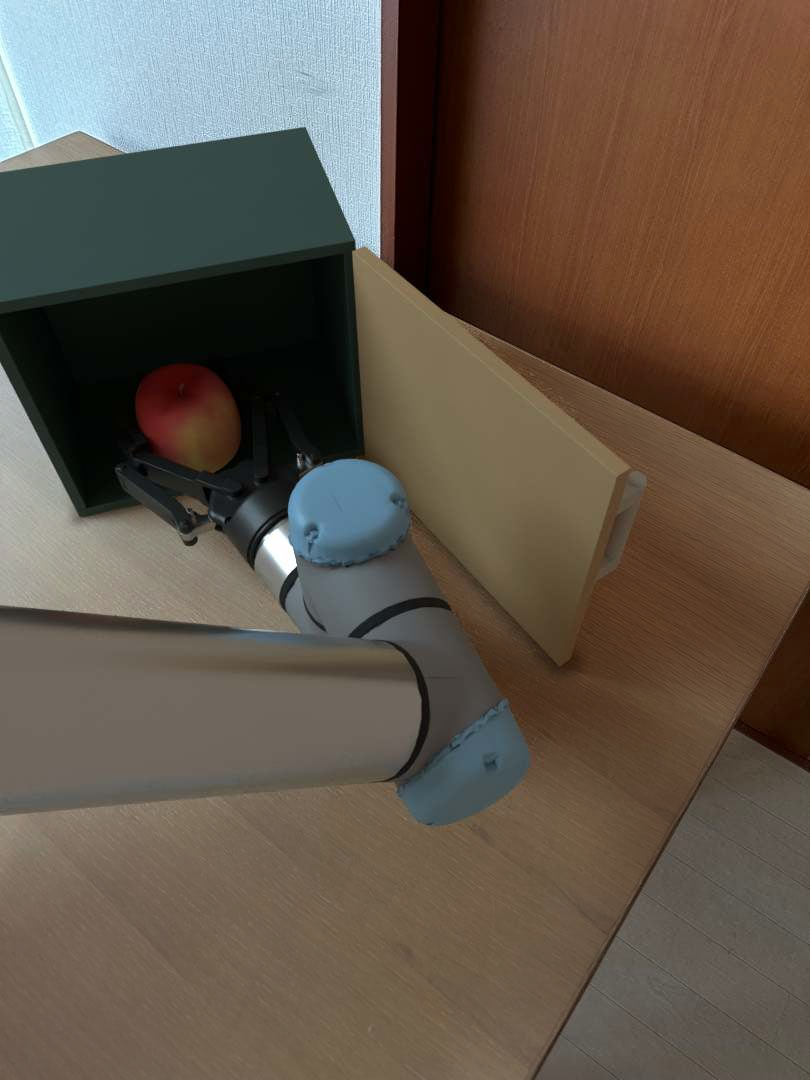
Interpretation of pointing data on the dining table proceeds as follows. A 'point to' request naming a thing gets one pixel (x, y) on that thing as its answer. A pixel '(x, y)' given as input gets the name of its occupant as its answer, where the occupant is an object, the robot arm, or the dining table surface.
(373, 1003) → the dining table surface
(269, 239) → the cupboard
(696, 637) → the dining table surface
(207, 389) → the apple
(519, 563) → the cupboard door
